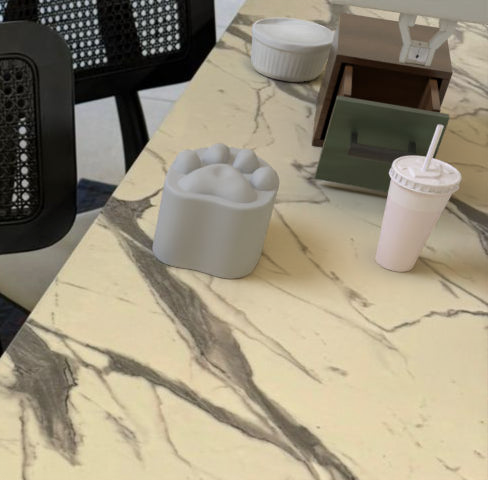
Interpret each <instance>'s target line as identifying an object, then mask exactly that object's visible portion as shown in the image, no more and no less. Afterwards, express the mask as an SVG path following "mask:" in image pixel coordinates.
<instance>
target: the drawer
mask: <svg viewBox="0 0 488 480" xmlns="http://www.w3.org/2000/svg"><path fill="white" fill-rule="evenodd" d="M441 111H442V109H441V108H440V101H439V92H438V84H437V78H436V77H430V76H423V75H417V74H411V73H405V72H399V71H393V70H386V69H380V68H374V67H368V66H362V65H356V64H350V63H344V67H343V70H342V74H341V77H340V81H339V84H338V88H337V92H336V95H335V99H334V102H333V106H332V109H331V113H330V116H329V120H328V123H327V127H326V137H325V140H324V144H323V147H321V151H320V155H319V158H318V161H317V166H316V169H315V172H314V180H319V181H325V182H331V183H337V184H343V185H347V186H348V185H349V186H354V187H359V188H366V189H370V190H374V191H375V190H376V191H381V192H386V193H388V191H389V186H390V182H391V177H390V175H389V171H390V169H391V167H392V164H393V161H394V160H396V159H397V158H400V157H403V156H425V157H426V156H427V153H428V150H429V148H430V145H431V142H432V139H433V136H434V133H435V131H436V128H437V125H443V126H444V127H443V130H442V133H441V136H440V138H439V141H438V144H437V147H436V149H435V152H434V155H433V158H434V159H436V157H437V154H438V152H439V149H440V146H441V143H442V140H443V138H444V135H445V133H446V130H447V126H448V124H449V121H450V114H449V113H444V112H441Z"/></svg>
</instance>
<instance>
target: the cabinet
mask: <svg viewBox="0 0 488 480" xmlns="http://www.w3.org/2000/svg"><path fill="white" fill-rule="evenodd" d="M408 27H409V31H410V36H411V40H415V41H422V42H429V41H430V40H431V39H432V37H433V36H434V35H435V34H436V33H437V32H438V31H439V26H438V27H437V26H431V25H424V24H417V23H415V24H414V26H413V27H411V26H408ZM334 33H335V35H334V38H333V42H332V46H331V49H330V53H329V57H328V59H327V62H326V64H325V67H324V72H323V76H322V79H321V83H320V86H319V90H318V94H317V97H316V98H317V99H316V105H315V106H316V107H315V114H314V123H313V132H312V139H311V146H313V147H314V146H315V147H320V148H322V147H323V144H324V140H325V137H326V127H327V123H328V120H329V116H330V113H331V109H332V106H333V102H334V99H335V95H336V92H337V88H338V84H339V81H340V77H341V74H342V70H343V67H344V63H350V64H356V65H362V66H368V67H374V68H380V69H386V70H393V71H399V72H405V73H411V74H417V75H423V76H430V77H436V78H437V84H438V92H439V101H440V109H441V108H442V105H443V102H444V99H445V96H446V93H447V91H448V88H449V85H450V82H451V79H452V77H453V74H454V71H453V65H452V59H451V53H450V45H449V41H448V40H449V38H448V39H447V40H446V41H445V42H444V43H443V44H442V45H441V46H440V47H439V48H438V49H436V50H435V53H434V56H433V59H432V62H431V65H430V67H428V66H421V65H415V64H409V63H401V62H399V57H400V52H401V49H402V46H403V40H402V36H401V32H400V28H399V20H393V19H392V20H391V19H385V18H379V17H372V16H367V15H360V14H354V13H346V12H340V13H339V16H338V21H337V24H336V27H335V31H334Z"/></svg>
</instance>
